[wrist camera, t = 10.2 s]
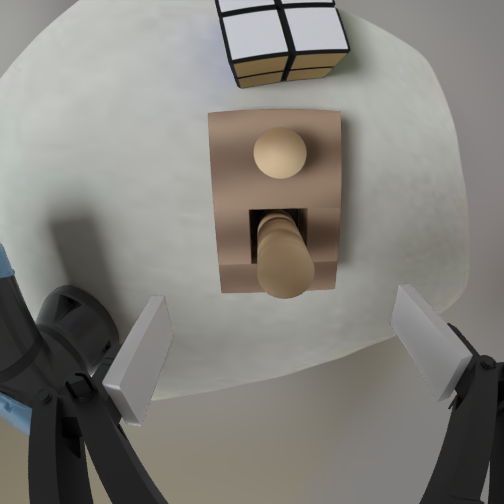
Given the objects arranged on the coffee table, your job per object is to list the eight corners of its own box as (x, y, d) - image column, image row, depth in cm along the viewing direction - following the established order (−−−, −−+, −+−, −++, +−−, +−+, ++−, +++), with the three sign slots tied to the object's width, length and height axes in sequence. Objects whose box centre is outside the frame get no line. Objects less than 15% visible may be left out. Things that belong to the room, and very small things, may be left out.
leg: (267, 242, 33) (273, 306, 20) (251, 213, 32) (246, 262, 19) (297, 227, 32) (323, 283, 19) (282, 197, 31) (300, 236, 18)
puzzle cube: (222, 19, 23) (208, -23, 14) (305, 9, 22) (321, -33, 13) (238, 89, 27) (228, 64, 17) (325, 78, 26) (353, 52, 16)
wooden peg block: (323, 265, 34) (344, 309, 25) (227, 268, 34) (216, 314, 25) (325, 117, 27) (354, 105, 18) (217, 119, 28) (198, 107, 18)
